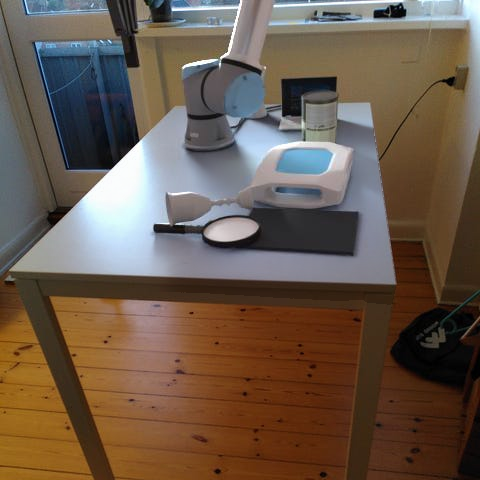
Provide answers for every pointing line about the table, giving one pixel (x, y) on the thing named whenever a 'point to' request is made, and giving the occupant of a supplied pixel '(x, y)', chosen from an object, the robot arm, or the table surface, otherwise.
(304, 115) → the coffee can
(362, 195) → the table surface
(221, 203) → the chalice
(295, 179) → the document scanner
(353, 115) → the table surface
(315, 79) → the laptop
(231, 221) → the magnifying glass
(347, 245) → the mat
